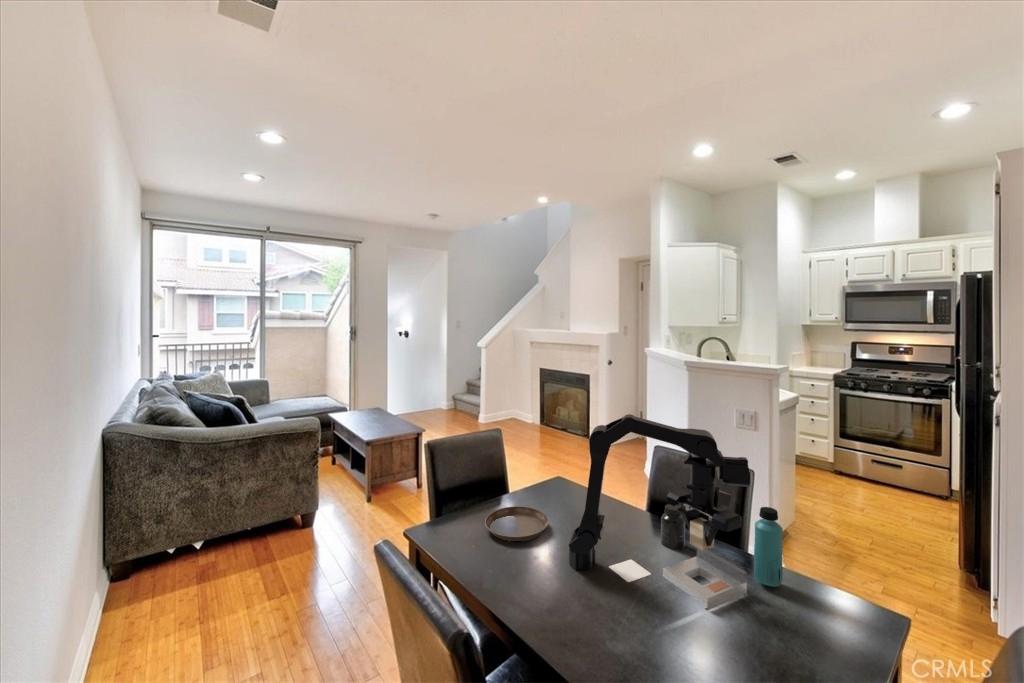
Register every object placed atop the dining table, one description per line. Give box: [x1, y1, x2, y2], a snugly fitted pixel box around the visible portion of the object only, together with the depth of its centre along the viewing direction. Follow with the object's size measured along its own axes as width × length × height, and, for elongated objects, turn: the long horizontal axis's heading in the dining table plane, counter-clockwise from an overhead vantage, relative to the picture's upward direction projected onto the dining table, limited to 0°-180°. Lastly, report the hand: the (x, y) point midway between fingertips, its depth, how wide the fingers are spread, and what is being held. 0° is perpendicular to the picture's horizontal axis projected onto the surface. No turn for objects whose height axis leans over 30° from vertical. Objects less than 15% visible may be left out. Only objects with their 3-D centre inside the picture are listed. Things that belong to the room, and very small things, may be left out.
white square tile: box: [608, 559, 652, 583], centre depth 119 cm, size 8×8×1 cm
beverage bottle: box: [752, 506, 784, 587], centre depth 113 cm, size 6×7×20 cm
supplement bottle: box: [660, 503, 686, 551], centre depth 133 cm, size 7×7×12 cm
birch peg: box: [689, 517, 715, 551], centre depth 112 cm, size 4×4×6 cm
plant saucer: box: [484, 505, 549, 542], centre depth 144 cm, size 21×21×3 cm
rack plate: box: [662, 547, 748, 611], centre depth 113 cm, size 14×14×6 cm
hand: (701, 541), depth 112 cm, fingers closed on birch peg, 4 cm apart
